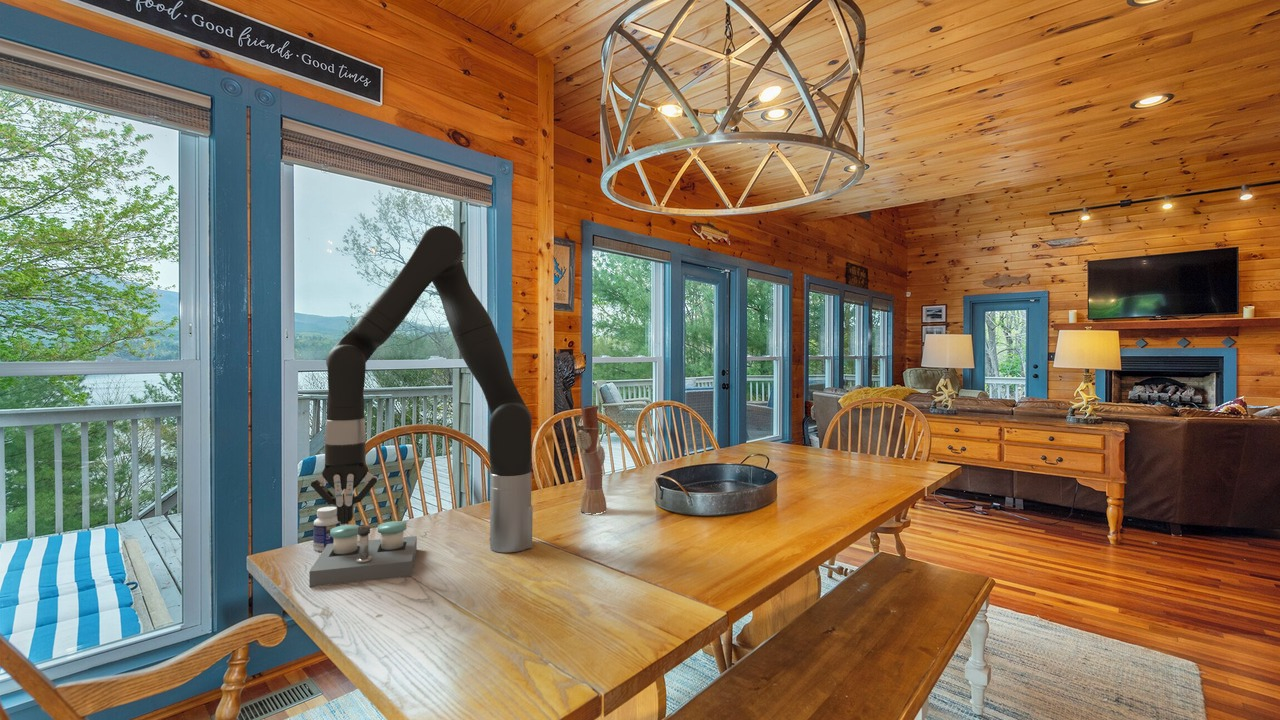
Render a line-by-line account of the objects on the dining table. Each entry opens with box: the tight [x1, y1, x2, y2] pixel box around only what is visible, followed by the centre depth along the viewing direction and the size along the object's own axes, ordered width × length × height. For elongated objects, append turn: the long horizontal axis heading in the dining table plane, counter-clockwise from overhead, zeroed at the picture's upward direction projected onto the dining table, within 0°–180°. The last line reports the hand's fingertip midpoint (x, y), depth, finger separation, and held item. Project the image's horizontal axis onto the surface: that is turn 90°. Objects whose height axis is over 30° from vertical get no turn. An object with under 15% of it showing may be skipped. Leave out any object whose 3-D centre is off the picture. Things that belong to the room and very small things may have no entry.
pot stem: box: [356, 525, 372, 563], centre depth 113 cm, size 3×3×7 cm
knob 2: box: [377, 520, 407, 550], centre depth 121 cm, size 6×6×4 cm
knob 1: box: [330, 524, 361, 554], centre depth 119 cm, size 6×6×4 cm
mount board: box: [308, 535, 418, 588], centre depth 118 cm, size 18×16×3 cm
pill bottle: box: [312, 506, 341, 552], centre depth 129 cm, size 5×5×9 cm
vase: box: [576, 404, 607, 514], centre depth 159 cm, size 10×7×30 cm
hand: (345, 523), depth 119 cm, fingers closed
